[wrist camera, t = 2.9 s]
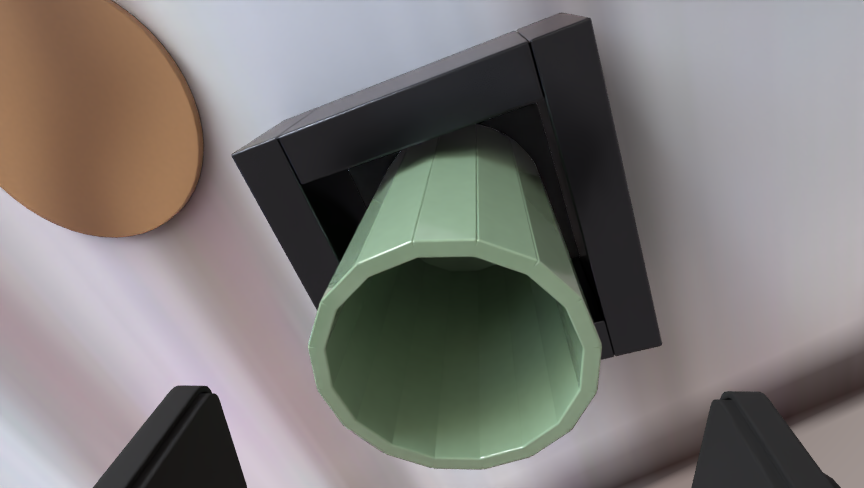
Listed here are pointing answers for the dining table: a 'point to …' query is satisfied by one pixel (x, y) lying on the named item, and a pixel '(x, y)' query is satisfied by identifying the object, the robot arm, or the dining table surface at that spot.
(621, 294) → the black square frame
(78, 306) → the dining table surface
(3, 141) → the coaster
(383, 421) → the cup
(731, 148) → the dining table surface
